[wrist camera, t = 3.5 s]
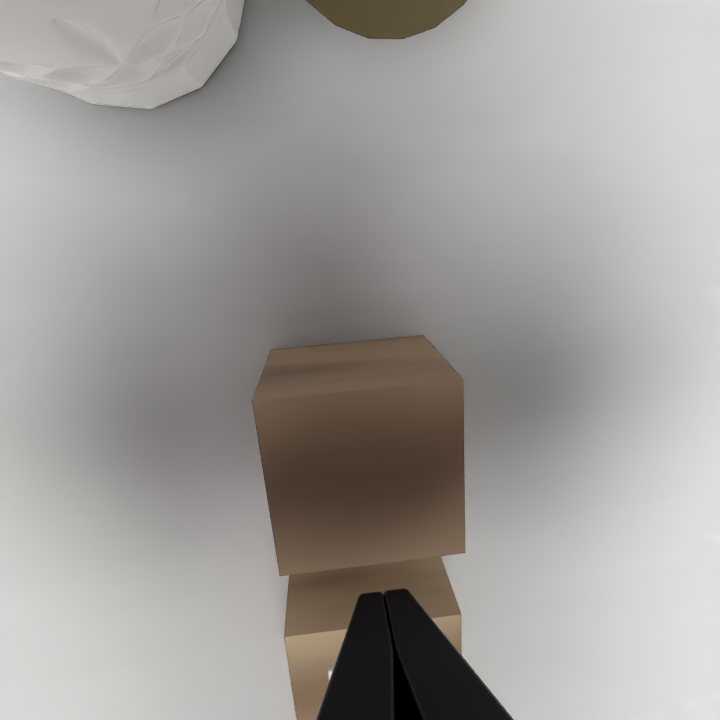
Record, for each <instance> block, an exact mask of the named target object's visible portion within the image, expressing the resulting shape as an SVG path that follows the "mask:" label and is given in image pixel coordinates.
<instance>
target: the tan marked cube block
mask: <svg viewBox="0 0 720 720" xmlns="http://www.w3.org/2000/svg"><path fill="white" fill-rule="evenodd" d="M401 588H405V589H407V590H409V592H410V593H411V594H412V595H413V596H414V598H415V599H416V600H417V601H418V602H419V604H420V605H421V606H422V607H423V609H424V610H425V611H426V612H427V614H428V615H429V616H430V617H431V618H432V620H433V621H434V622H435V623H436V625H437V626H438V627H439V628H440V630H441V631H442V632H443V633H444V634H445V636H446V637H447V638H448V639H449V641H450V642H451V643H452V644H453V646H454V647H455V648H456V649H457V650H458V652H459V653H460V654H461V655H462V653H461V613H460V610H459V607H458V604H457V601H456V599H455V596H454V593H453V590H452V587H451V585H450V582H449V579H448V576H447V574H446V571H445V568H444V565H443V562H442V560H441V557H440V556H437V557H429V558H421V559H413V560H405V561H397V562H389V563H381V564H373V565H365V566H357V567H349V568H341V569H333V570H325V571H317V572H309V573H301V574H294V575H289V584H288V596H287V608H286V620H285V632H284V640H285V646H286V653H287V659H288V666H289V672H290V679H291V685H292V692H293V698H294V705H295V711H296V718H297V720H316V717H317V715H318V712H319V709H320V706H321V703H322V700H323V697H324V694H325V691H326V689H327V686H328V683H329V680H330V677H331V674H332V671H333V668H334V666H335V663H336V660H337V657H338V654H339V651H340V648H341V645H342V642H343V640H344V637H345V634H346V631H347V628H348V625H349V622H350V619H351V617H352V614H353V611H354V608H355V605H356V602H357V599H358V597H359V595H360V594H362V593H369V592H377V591H380V592H382V593H383V595H384V593H385V591H387V590H393V589H401Z"/></svg>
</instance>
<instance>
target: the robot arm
mask: <svg viewBox="0 0 720 720" xmlns="http://www.w3.org/2000/svg"><path fill="white" fill-rule="evenodd" d="M316 720H514V719H513V718H512V717H511V716H510V714H509V713H508V712H507V711H506V709H505V708H504V707H503V706H502V705H501V703H500V702H499V701H498V700H497V698H496V697H495V696H494V695H493V694H492V692H491V691H490V690H489V689H488V687H487V686H486V685H485V684H484V682H483V681H482V680H481V679H480V678H479V676H478V675H477V674H476V673H475V671H474V670H473V669H472V668H471V666H470V665H469V664H468V663H467V662H466V660H465V659H464V658H463V657H462V655H461V654H460V653H459V652H458V650H457V649H456V648H455V647H454V646H453V644H452V643H451V642H450V641H449V639H448V638H447V637H446V636H445V634H444V633H443V632H442V631H441V630H440V628H439V627H438V626H437V625H436V623H435V622H434V621H433V620H432V618H431V617H430V616H429V615H428V614H427V612H426V611H425V610H424V609H423V607H422V606H421V605H420V604H419V602H418V601H417V600H416V599H415V598H414V596H413V595H412V594H411V593H410V592H409V590H407V589H405V588H401V589H393V590H387V591H385V593H384V595H383V593H382V592H380V591H377V592H369V593H362V594H360V595H359V597H358V599H357V602H356V605H355V608H354V611H353V614H352V617H351V619H350V622H349V625H348V628H347V631H346V634H345V637H344V640H343V642H342V645H341V648H340V651H339V654H338V657H337V660H336V663H335V666H334V668H333V671H332V674H331V677H330V680H329V683H328V686H327V689H326V691H325V694H324V697H323V700H322V703H321V706H320V709H319V712H318V715H317V717H316Z"/></svg>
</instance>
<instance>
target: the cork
mask: <svg viewBox="0 0 720 720" xmlns="http://www.w3.org/2000/svg"><path fill="white" fill-rule="evenodd" d="M307 1H308V2H309V3H310V4H312V5H313V6H314V7H315V8H316V9H317V10H319V11H320V12H321V13H322V14H323V15H324V16H326V17H327V18H328V19H329V20H330V21H331V22H333V23H334V24H335V25H337V26H339V27H342V28H344V29H347V30H349V31H352V32H354V33H357V34H359V35H362V36H364V37H367V38H384V39H404V38H407V37H410V36H412V35H415V34H418V33H421V32H424V31H427V30H429V29H432V28H435V27H436V26H438V25H439V24H440V23H441V22H443V21H444V20H445V19H446V18H448V17H449V16H450V15H451V14H453V13H454V12H455V11H456V10H457V9H459V8H460V7H461V6H462V5H464V3H465V2H466V0H307Z"/></svg>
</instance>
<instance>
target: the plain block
mask: <svg viewBox="0 0 720 720" xmlns="http://www.w3.org/2000/svg"><path fill="white" fill-rule="evenodd" d="M252 404H253V410H254V416H255V423H256V429H257V435H258V442H259V448H260V454H261V461H262V467H263V473H264V480H265V486H266V492H267V499H268V505H269V511H270V518H271V524H272V530H273V537H274V543H275V549H276V555H277V562H278V568H279V574H280V576H286V575H294V574H301V573H309V572H317V571H325V570H333V569H341V568H349V567H357V566H365V565H373V564H381V563H389V562H397V561H405V560H413V559H421V558H429V557H437V556H445V555H453V554H461V553H465V489H464V406H463V379H462V377H461V376H460V375H459V374H458V373H457V372H456V371H455V370H454V369H453V367H452V366H451V365H450V364H449V363H448V362H447V361H446V360H445V359H444V357H443V356H442V355H441V354H440V353H439V352H438V351H437V350H436V349H435V347H434V346H433V345H432V344H431V343H430V342H429V341H428V340H427V339H426V337H425V336H424V335H420V336H410V337H400V338H389V339H379V340H369V341H358V342H348V343H337V344H327V345H317V346H306V347H296V348H286V349H275V350H271V351H270V354H269V356H268V359H267V362H266V364H265V367H264V370H263V373H262V375H261V378H260V381H259V384H258V386H257V389H256V392H255V394H254V397H253V400H252Z"/></svg>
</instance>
